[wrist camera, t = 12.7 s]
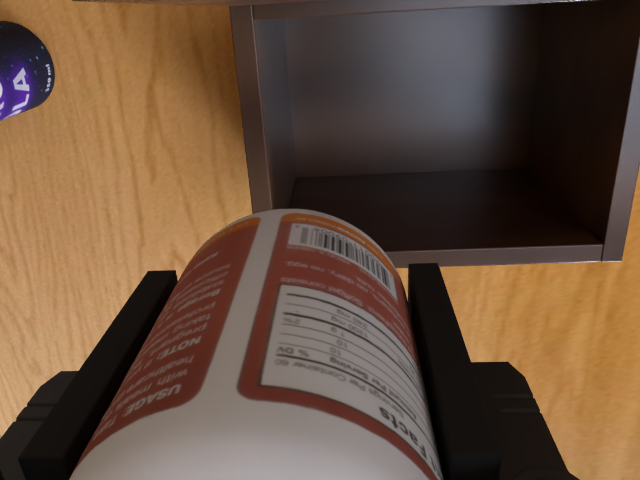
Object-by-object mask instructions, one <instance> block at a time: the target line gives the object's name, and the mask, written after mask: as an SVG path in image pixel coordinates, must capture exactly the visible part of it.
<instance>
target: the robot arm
mask: <svg viewBox="0 0 640 480" xmlns="http://www.w3.org/2000/svg"><path fill="white" fill-rule="evenodd" d="M177 283H178V281H177V275H176V270H172V271H148V272H147V274H146V275H145V276H144V278H143V279H142V281H141V282H140V284H139V285H138V286H137V288H136V289H135V291H134V292H133V294H132V295H131V296H130V298H129V299H128V301H127V302H126V304H125V305H124V307H123V308H122V309H121V311H120V312H119V314H118V315H117V317H116V318H115V319H114V321H113V322H112V324H111V325H110V327H109V328H108V330H107V331H106V332H105V334H104V335H103V337H102V338H101V340H100V341H99V342H98V344H97V345H96V347H95V348H94V350H93V351H92V352H91V354H90V355H89V357H88V358H87V360H86V361H85V363H84V364H83V365H82V367H81V368H80V370H79V371H61V372H59V373H58V374H57V375H55V376H54V377H53V378H51V379H50V380H49V381H47V382H46V383H45V384H43V385H42V386H41V387H40V388H39V389H38V390H37V392H36V393H35V394H34V396H33V397H32V398H31V400H30V401H29V402H28V404H27V407H24V409H23V410H22V411H21V413H20V414H19V415H18V417H17V418H16V419H17V420H16V422H13V423H12V424H11V426H10V427H9V428H8V430H7V431H6V432H5V434H4V435H3V436H2V437H1V439H0V480H69V479H70V477H71V475H72V473H73V471H74V469H75V467H76V465H77V464H78V462H79V460H80V458H81V456H82V454H83V452H84V451H85V449H86V447H87V445H88V443H89V442H90V440H91V438H92V436H93V434H94V433H95V431H96V429H97V428H98V426H99V424H100V422H101V420H102V418H103V416H104V415H105V413H106V411H107V410H108V408H109V406H110V404H111V402H112V400H113V399H114V397H115V395H116V394H117V392H118V390H119V388H120V386H121V384H122V383H123V381H124V379H125V377H126V375H127V373H128V371H129V370H130V368H131V365H132V364H133V362H134V361H135V359H136V357H137V355H138V353H139V352H140V350H141V348H142V346H143V344H144V342H145V341H146V339H147V337H148V335H149V334H150V332H151V330H152V328H153V326H154V325H155V323H156V321H157V319H158V317H159V315H160V313H161V312H162V310H163V308H164V306H165V304H166V303H167V301H168V299H169V297H170V295H171V294H172V292H173V290H174V288H175V286H176V285H177ZM408 305H409V310H410V315H411V320H412V325H413V330H414V335H415V340H416V345H417V350H418V355H419V360H420V366H421V369H422V374H423V379H424V385H425V390H426V395H427V399H428V405H429V410H430V415H431V420H432V426H433V430H434V435H435V441H436V446H437V450H438V455H439V460H440V464H441V469H442V474H443V478H444V480H579V479H578V478H576V477H575V476H573V475H572V474H570V473H569V471H568V470H567V468H566V466H565V464H564V461H563V459H562V457H561V455H560V453H559V451H558V448H557V446H556V444H555V442H554V440H553V438H552V435H551V433H550V431H549V429H548V427H547V425H546V422H545V420H544V418H543V416H542V414H541V413H540V409H539V407H538V405H537V403H536V401H535V398H533V394H532V392H531V390H530V388H529V385H528V383H527V381H526V379H525V377H524V376H523V375H522V374H521V373H520V372H519V371H517V370H516V369H515V368H514V367H513V366H512V365H511V364H510V363H509V362H471V361H470V358H469V355H468V352H467V349H466V346H465V343H464V340H463V337H462V334H461V331H460V328H459V325H458V322H457V319H456V316H455V313H454V310H453V307H452V304H451V301H450V298H449V295H448V292H447V289H446V286H445V283H444V280H443V277H442V274H441V271H440V268H439V265H438V263H413V264H409V266H408Z"/></svg>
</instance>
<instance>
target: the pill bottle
mask: <svg viewBox="0 0 640 480" xmlns="http://www.w3.org/2000/svg"><path fill="white" fill-rule="evenodd" d="M69 480H444V478H443V474H442V469H441V464H440V460H439V455H438V450H437V446H436V441H435V435H434V430H433V426H432V420H431V415H430V410H429V405H428V399H427V395H426V390H425V385H424V379H423V374H422V369H421V366H420V360H419V355H418V350H417V345H416V340H415V335H414V330H413V325H412V320H411V315H410V310H409V305H408V301H407V297H406V293H405V289H404V287H403V284H402V281H401V278H400V276H399V274H398V272H397V270H396V268H395V266H394V265H393V263H392V262H391V260H390V259H389V257H388V256H387V255H386V254H385V252H384V251H383V250H382V249H381V248H380V246H379V245H377V244H376V243H375V242H374V241H373V240H372V239H371V238H370V237H369V236H368V235H366V234H365V233H364V232H362V231H361V230H359V229H358V228H356V227H355V226H353V225H351V224H349V223H347V222H345V221H343V220H341V219H339V218H337V217H334V216H331V215H328V214H325V213H321V212H317V211H313V210H305V209H275V210H268V211H263V212H259V213H255V214H252V215H249V216H246V217H244V218H241V219H239V220H237V221H235V222H233V223H231V224H229V225H228V226H226V227H225V228H223V229H221V230H220V231H219V232H217V233H216V234H214V235H213V236H212V237H211V238H210V239H209V240H207V241H206V242H205V243H204V244H203V245H202V246H201V248H200V249H199V250H198V251H197V252H196V254H195V255H194V256H193V258H192V259H191V261H190V262H189V264H188V265H187V267H186V268H185V270H184V272H183V273H182V275H181V277H180V279H179V281H178V283H177V285H176V286H175V288H174V290H173V292H172V294H171V295H170V297H169V299H168V301H167V303H166V304H165V306H164V308H163V310H162V312H161V313H160V315H159V317H158V319H157V321H156V323H155V325H154V326H153V328H152V330H151V332H150V334H149V335H148V337H147V339H146V341H145V342H144V344H143V346H142V348H141V350H140V352H139V353H138V355H137V357H136V359H135V361H134V362H133V364H132V365H131V368H130V370H129V371H128V373H127V375H126V377H125V379H124V381H123V383H122V384H121V386H120V388H119V390H118V392H117V394H116V395H115V397H114V399H113V400H112V402H111V404H110V406H109V408H108V410H107V411H106V413H105V415H104V416H103V418H102V420H101V422H100V424H99V426H98V428H97V429H96V431H95V433H94V434H93V436H92V438H91V440H90V442H89V443H88V445H87V447H86V449H85V451H84V452H83V454H82V456H81V458H80V460H79V462H78V464H77V465H76V467H75V469H74V471H73V473H72V475H71V477H70V479H69Z"/></svg>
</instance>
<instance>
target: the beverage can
mask: <svg viewBox="0 0 640 480" xmlns="http://www.w3.org/2000/svg"><path fill="white" fill-rule="evenodd" d="M54 78H55V73H54V66H53V62H52V59H51V56H50V54H49V52H48V50H47V49H46V47H45V46H44V44H43V43H42V42H41V40H40V39H39V38H38V37H37V36H36V35H35V34H33V33H32V32H31V31H30V30H28V29H27V28H25V27H23V26H21V25H19V24H16V23H13V22H8V21H0V121H1V120H3V119H6V118H8V117H11V116H14V115H16V114H19V113H21V112H24V111H27V110H29V109H32V108H34V107H37V106H39V105H40V104H42V103H43V102H44V101H45V100H46V99H47V98H48V96H49V95H50V93H51V91H52V88H53V85H54Z"/></svg>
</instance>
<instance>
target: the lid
mask: <svg viewBox="0 0 640 480" xmlns="http://www.w3.org/2000/svg"><path fill="white" fill-rule="evenodd" d="M73 1H83V2H112V3H141V4H169V5H198V6H226V7H228V6H245V5H261V4H278V3H294V2H311V1H327V0H73Z"/></svg>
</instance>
